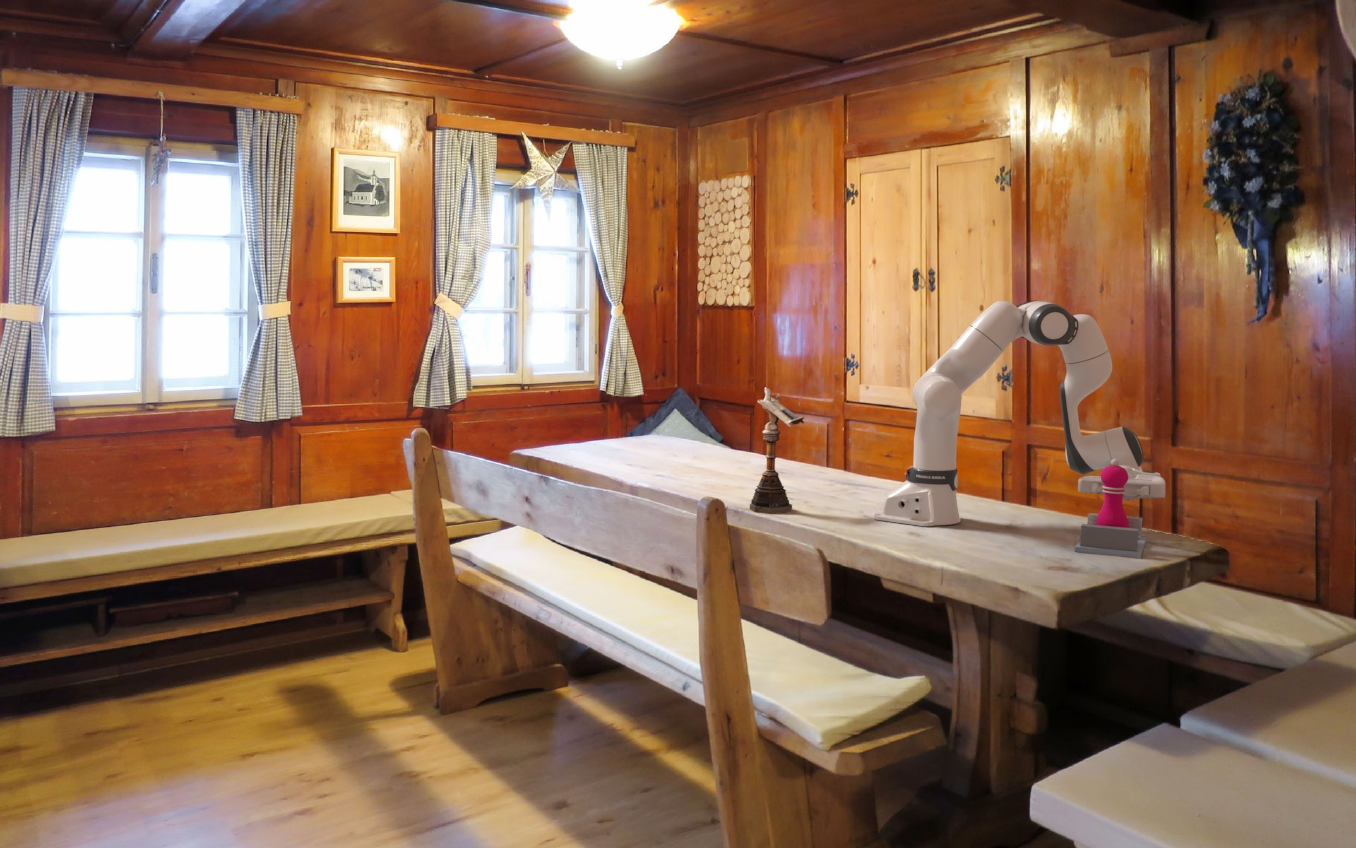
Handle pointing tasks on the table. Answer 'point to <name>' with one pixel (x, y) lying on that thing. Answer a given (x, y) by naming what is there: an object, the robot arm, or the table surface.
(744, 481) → the table surface
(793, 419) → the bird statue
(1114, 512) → the pepper mill
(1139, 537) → the sliding jaw
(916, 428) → the robot arm
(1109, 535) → the vise
